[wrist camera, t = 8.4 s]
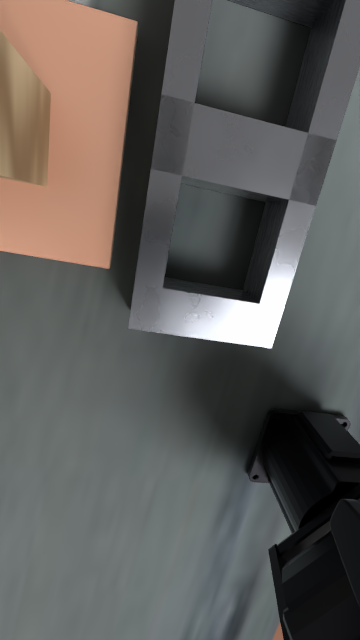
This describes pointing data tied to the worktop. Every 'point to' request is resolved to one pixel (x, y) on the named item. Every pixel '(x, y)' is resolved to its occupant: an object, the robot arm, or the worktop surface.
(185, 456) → the worktop surface
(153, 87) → the worktop surface
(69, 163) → the terracotta tile
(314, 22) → the grey slotted holder
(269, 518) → the worktop surface
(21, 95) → the maple peg
